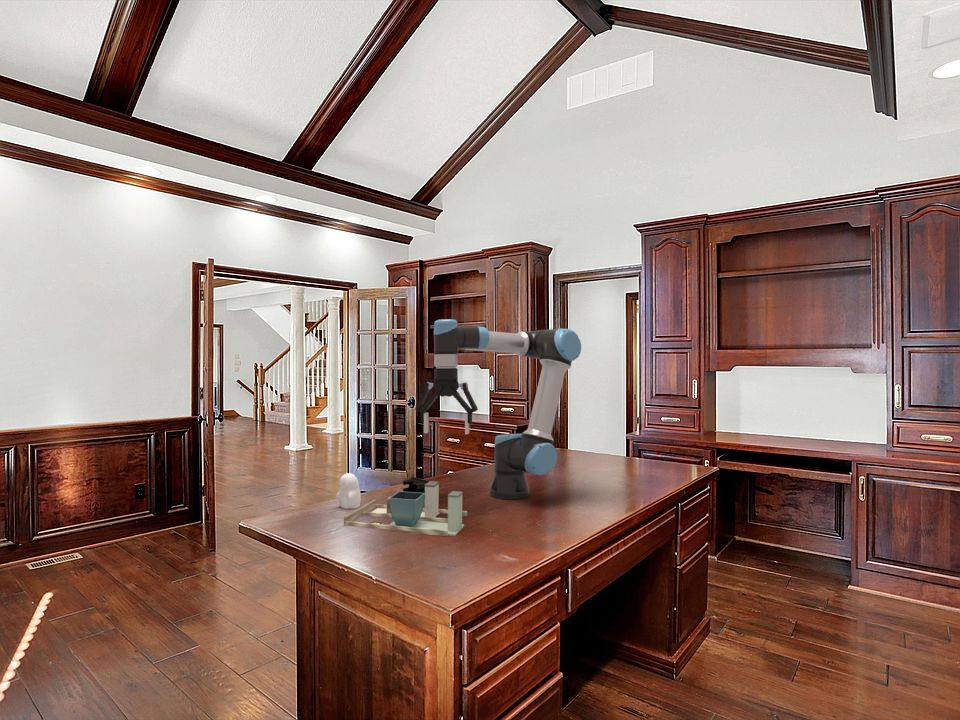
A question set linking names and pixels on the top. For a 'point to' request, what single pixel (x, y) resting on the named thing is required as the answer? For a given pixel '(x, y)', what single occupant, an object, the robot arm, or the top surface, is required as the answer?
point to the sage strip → (453, 516)
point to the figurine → (349, 492)
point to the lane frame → (373, 504)
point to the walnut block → (388, 506)
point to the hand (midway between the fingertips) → (446, 433)
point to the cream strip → (426, 500)
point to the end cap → (415, 485)
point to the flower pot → (406, 507)
